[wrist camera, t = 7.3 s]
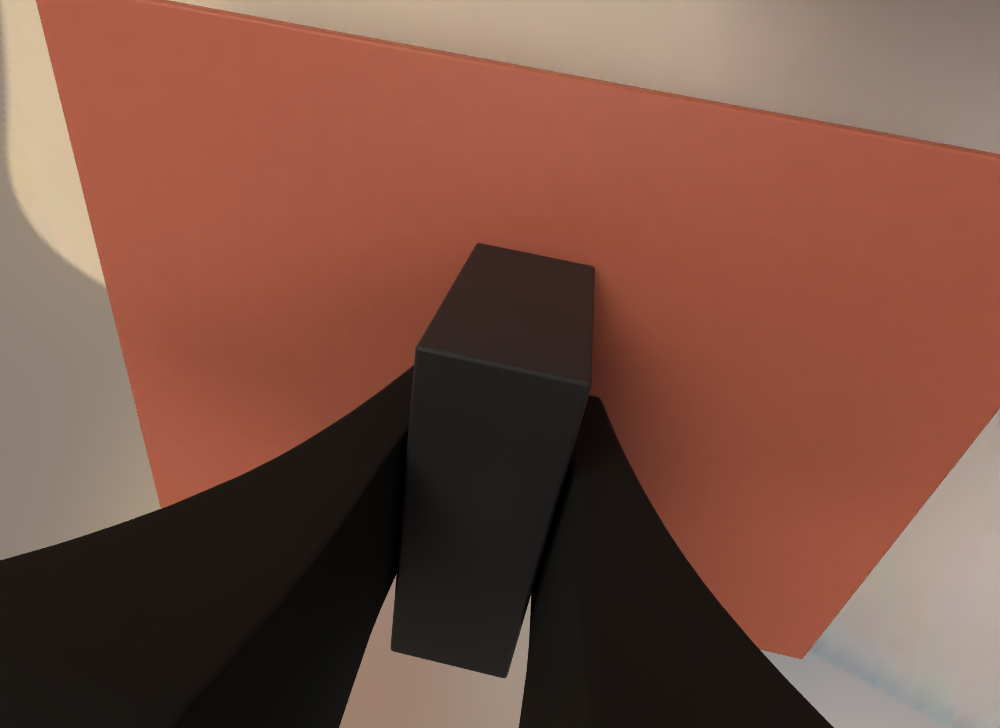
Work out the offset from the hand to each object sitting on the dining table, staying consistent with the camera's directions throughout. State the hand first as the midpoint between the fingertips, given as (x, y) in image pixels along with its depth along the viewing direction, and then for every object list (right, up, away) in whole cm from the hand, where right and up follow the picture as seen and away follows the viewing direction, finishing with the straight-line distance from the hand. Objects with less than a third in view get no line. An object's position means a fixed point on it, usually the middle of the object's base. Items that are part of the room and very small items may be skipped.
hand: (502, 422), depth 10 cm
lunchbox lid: (0, +1, +1) cm, 1 cm away
